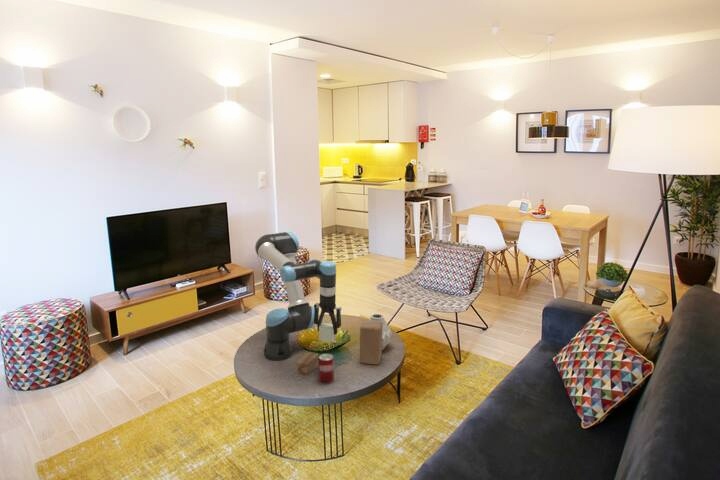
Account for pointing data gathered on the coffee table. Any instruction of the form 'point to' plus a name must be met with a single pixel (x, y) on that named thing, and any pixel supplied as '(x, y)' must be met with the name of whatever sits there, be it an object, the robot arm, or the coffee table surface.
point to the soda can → (326, 368)
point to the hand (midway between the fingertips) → (327, 338)
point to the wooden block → (370, 342)
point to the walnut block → (307, 363)
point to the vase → (385, 329)
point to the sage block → (325, 332)
